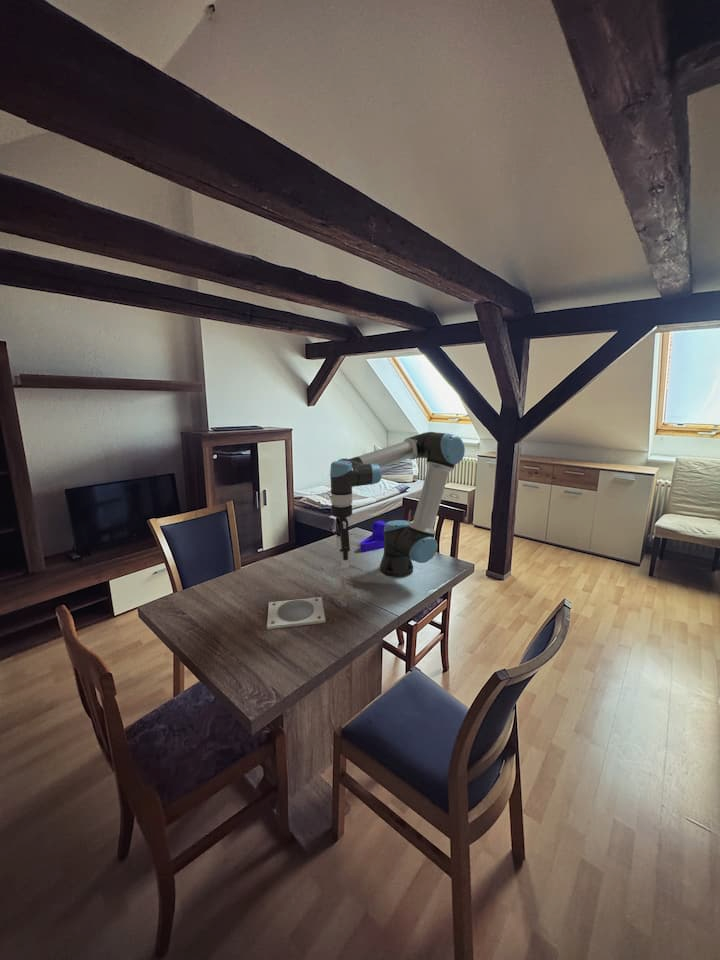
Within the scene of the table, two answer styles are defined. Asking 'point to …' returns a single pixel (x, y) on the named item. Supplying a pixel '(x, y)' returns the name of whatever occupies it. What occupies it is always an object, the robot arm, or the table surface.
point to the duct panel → (295, 613)
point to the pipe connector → (343, 593)
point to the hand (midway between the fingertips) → (342, 559)
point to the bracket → (374, 538)
